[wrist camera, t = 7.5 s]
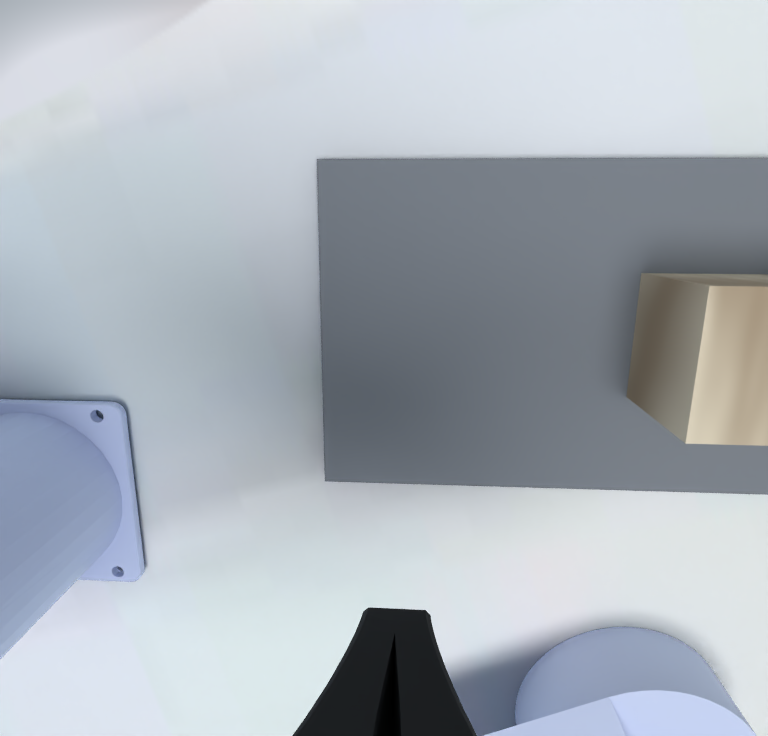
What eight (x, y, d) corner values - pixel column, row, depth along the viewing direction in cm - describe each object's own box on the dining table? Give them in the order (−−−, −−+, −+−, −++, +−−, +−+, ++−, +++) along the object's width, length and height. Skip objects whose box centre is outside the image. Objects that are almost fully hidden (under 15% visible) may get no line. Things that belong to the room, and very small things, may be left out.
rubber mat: (327, 474, 22) (325, 481, 21) (319, 161, 19) (316, 158, 18) (894, 491, 21) (907, 498, 20) (980, 159, 18) (999, 157, 17)
